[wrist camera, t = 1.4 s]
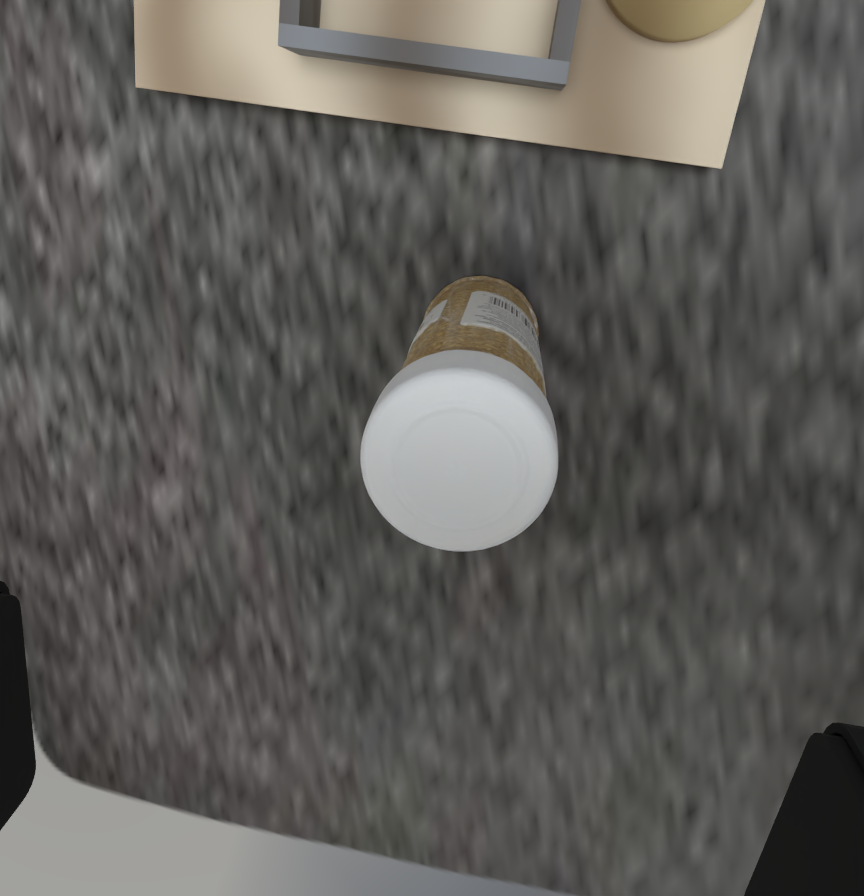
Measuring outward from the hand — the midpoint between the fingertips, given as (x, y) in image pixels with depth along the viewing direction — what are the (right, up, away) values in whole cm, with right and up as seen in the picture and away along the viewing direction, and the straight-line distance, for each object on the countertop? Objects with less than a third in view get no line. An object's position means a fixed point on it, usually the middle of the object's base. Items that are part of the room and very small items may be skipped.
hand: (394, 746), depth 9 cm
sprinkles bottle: (+2, +8, +20) cm, 22 cm away
